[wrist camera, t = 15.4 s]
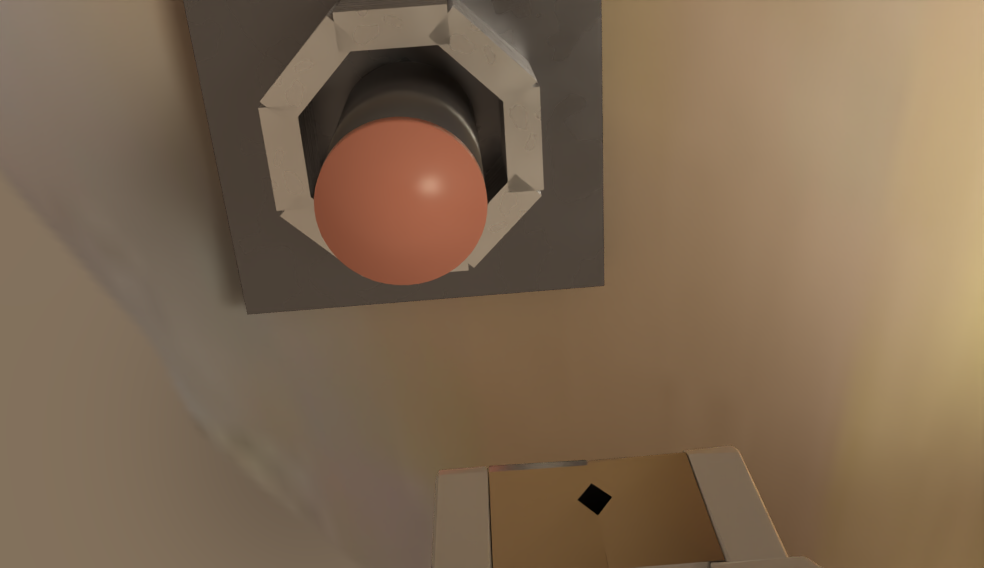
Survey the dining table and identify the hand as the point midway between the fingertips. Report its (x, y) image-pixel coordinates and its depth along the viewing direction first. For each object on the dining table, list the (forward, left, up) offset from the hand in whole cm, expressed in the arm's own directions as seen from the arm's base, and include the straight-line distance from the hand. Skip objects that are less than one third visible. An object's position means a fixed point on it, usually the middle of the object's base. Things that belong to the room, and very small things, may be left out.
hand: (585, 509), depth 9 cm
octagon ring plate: (+3, +2, -26) cm, 26 cm away
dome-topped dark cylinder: (+3, +3, -24) cm, 24 cm away
